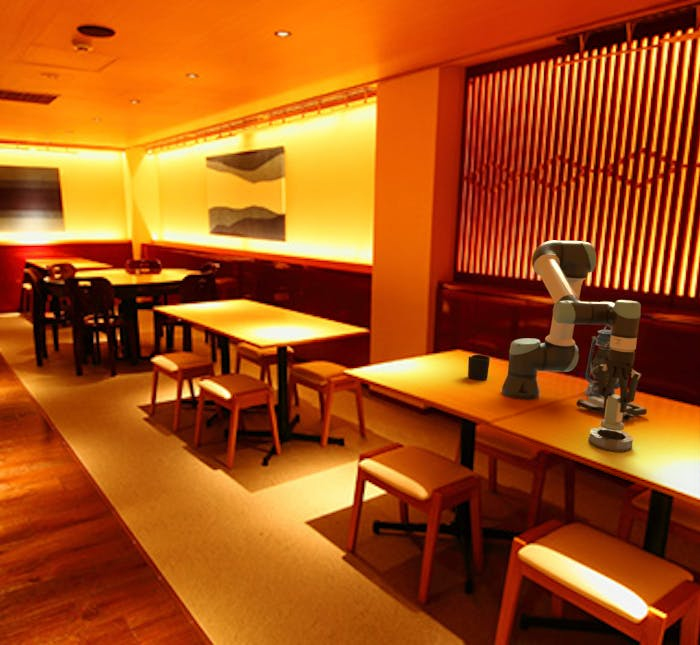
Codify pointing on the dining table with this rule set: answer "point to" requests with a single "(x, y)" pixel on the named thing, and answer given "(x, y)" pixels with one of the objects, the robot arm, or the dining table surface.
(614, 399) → the toggle switch lever
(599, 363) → the lantern
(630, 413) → the camcorder
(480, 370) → the pen holder
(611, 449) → the barrel ring
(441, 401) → the dining table surface
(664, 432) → the dining table surface
